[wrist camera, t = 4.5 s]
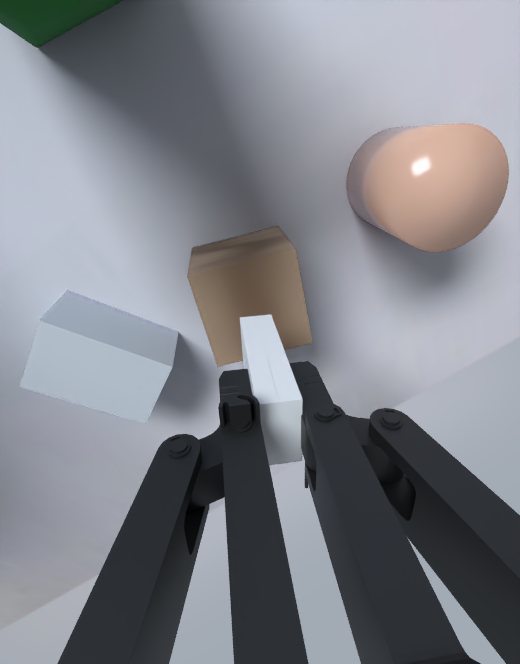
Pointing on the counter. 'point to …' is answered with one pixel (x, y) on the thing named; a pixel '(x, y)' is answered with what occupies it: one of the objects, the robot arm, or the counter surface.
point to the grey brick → (100, 357)
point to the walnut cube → (248, 290)
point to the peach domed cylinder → (429, 183)
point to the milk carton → (48, 16)
